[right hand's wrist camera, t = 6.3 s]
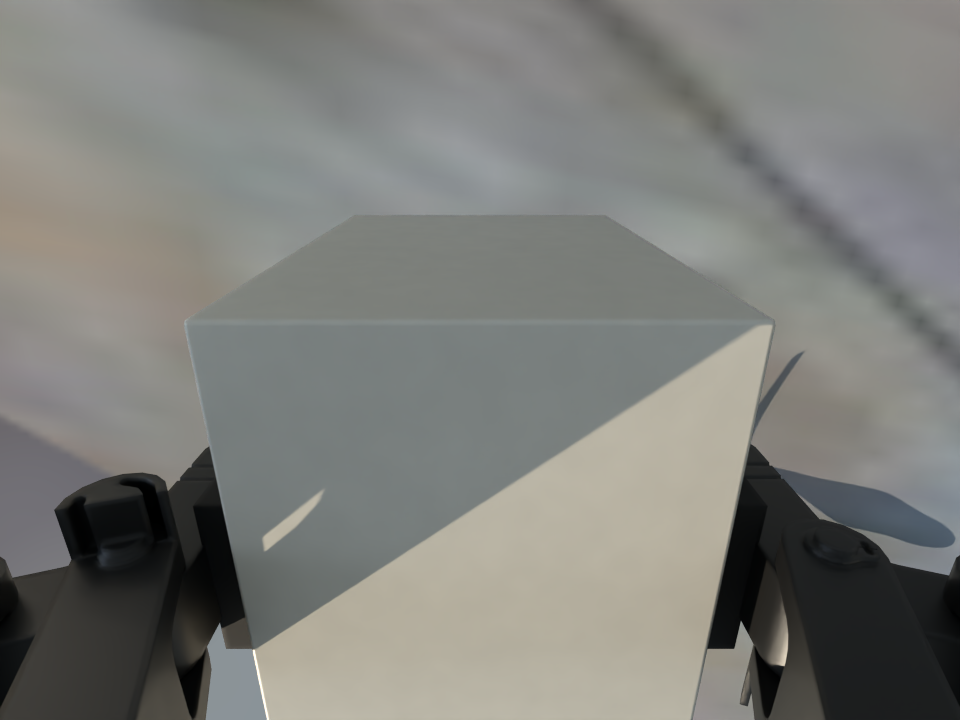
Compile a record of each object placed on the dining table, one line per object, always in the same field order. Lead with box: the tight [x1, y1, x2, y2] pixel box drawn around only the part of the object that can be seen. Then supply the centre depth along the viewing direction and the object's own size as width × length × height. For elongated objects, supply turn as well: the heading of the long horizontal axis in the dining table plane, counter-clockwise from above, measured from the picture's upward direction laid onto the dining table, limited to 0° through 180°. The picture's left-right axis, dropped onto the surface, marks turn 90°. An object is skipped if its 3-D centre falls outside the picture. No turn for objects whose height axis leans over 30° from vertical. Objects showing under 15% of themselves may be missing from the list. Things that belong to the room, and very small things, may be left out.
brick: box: [184, 215, 775, 720], centre depth 12 cm, size 8×6×9 cm
